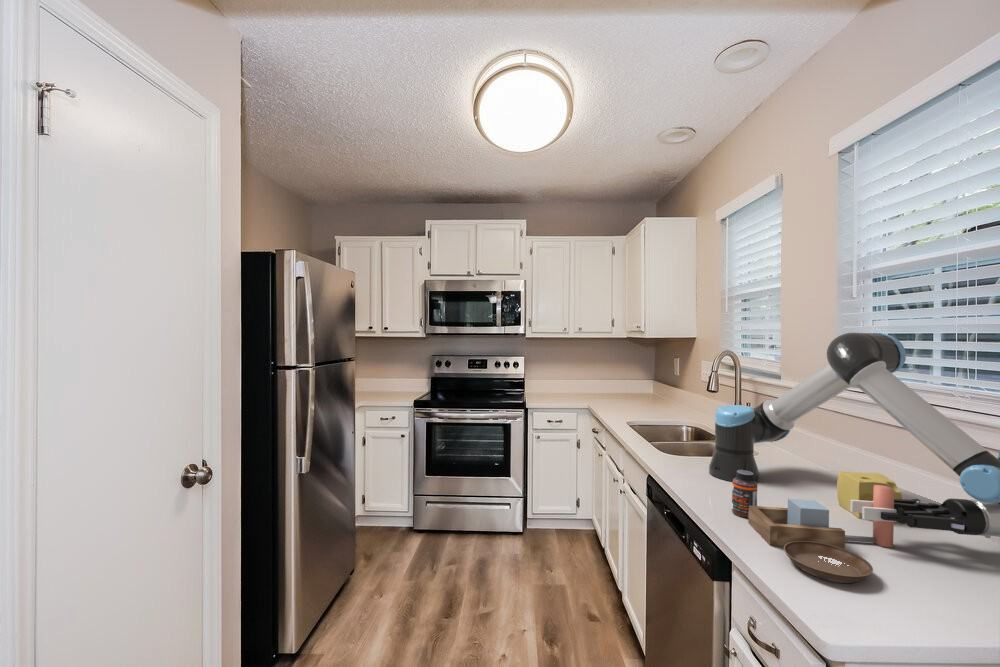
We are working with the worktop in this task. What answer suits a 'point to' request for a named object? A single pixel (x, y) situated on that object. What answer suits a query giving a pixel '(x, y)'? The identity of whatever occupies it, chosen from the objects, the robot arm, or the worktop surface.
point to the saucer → (807, 560)
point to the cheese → (861, 488)
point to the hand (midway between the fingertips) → (857, 509)
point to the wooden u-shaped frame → (790, 528)
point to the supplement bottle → (743, 493)
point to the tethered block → (819, 516)
